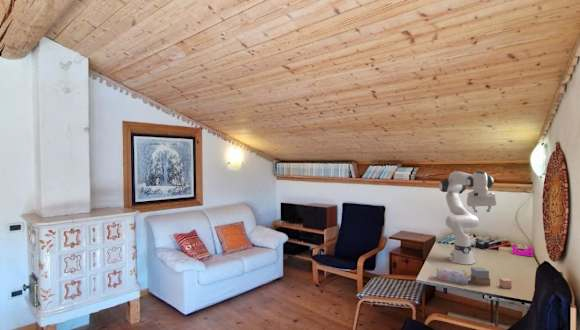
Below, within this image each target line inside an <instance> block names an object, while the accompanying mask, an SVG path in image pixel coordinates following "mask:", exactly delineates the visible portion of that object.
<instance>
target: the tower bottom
mask: <svg viewBox="0 0 580 330" xmlns="http://www.w3.org/2000/svg"><path fill="white" fill-rule="evenodd" d="M469 281H471V282H472V283H473V284H474V285H476V286H491V278H490V277H489V278H475V277H474V276H473V275H471V273H470V274H469Z"/></svg>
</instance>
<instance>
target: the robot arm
mask: <svg viewBox="0 0 580 330" xmlns="http://www.w3.org/2000/svg"><path fill="white" fill-rule="evenodd" d="M438 184H439V185H438V188H439V190H440V191H441V192H442V193H446V194H445V200H446V203H447V206H448V209H449V211H450V213H452V215H449V216H447V217H446V218H445V225H446V227H448V228H449V229H450V230H451V231H452V232H453V235H454V240H455V241H454V242H455V244H454V249H453V250H451V252H450V254H449V255H450V256H448V259H449V260H450V262H451V263H454V264H460V265H473V264H474V263H476V260H475V259H474V252H473V251H472V245H471V236H470V234H468V233H467V232H464V229H473V228H477V227H478V226H479V225H480V220H479V218H478V216H477V215H475V214H476V213H478V210H477V209H476V207H487V209H486V210H485V211H486V213H490V212H491V209H492V207H493V206H497V199H496V194H495V193H494V192H489V189H491V188H492V186H494V184H495V181H494V178H493V176H491V175H490V174H487V172H486V171H482V170H475V171H474V172H473V174H471V173H467V172H463V171H459V170H457V171H452V172H451V173H450V174H449V176H448V178H444V179H442V180H440V182H439V183H438ZM467 187H468V188H469V189H473V191H470V192H468V193H467V198H466V205H467V206H468V207H471V209H472V210H473V213H475V214H472V213H470V212H469V211H468V210H467V209H466V208H465V206H464V204H463V202H462V200H461V198H460V196H459V194H460V195H461V194H462V193H463V192H465V190H466V189H467Z"/></svg>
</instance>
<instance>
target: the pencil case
mask: <svg viewBox="0 0 580 330" xmlns="http://www.w3.org/2000/svg"><path fill="white" fill-rule="evenodd" d="M435 270H436V280H439V281H443V280H444V281H445V282H449V281H450V282H451V283H455V284H462V285H467V286H468V283H469V281H470V275H469V271H468V270H466V269H463V270H452V269H448V268H444V267H440V266H439V267H436V268H435Z"/></svg>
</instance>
